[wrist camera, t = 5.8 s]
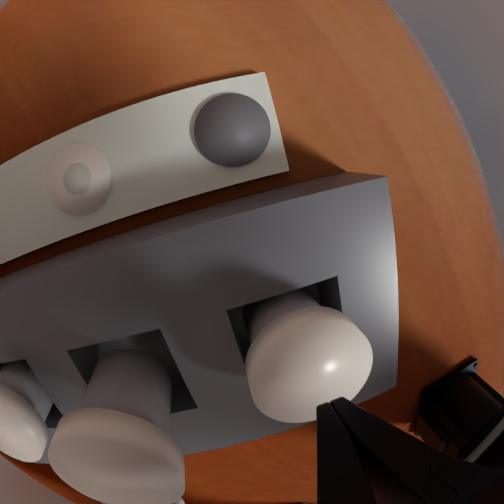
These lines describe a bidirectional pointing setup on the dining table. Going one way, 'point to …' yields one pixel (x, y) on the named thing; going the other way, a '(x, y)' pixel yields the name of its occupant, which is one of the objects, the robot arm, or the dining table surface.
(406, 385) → the dining table surface
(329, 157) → the dining table surface
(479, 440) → the robot arm
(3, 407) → the button
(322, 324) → the button
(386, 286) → the console
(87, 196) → the card
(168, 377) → the button
